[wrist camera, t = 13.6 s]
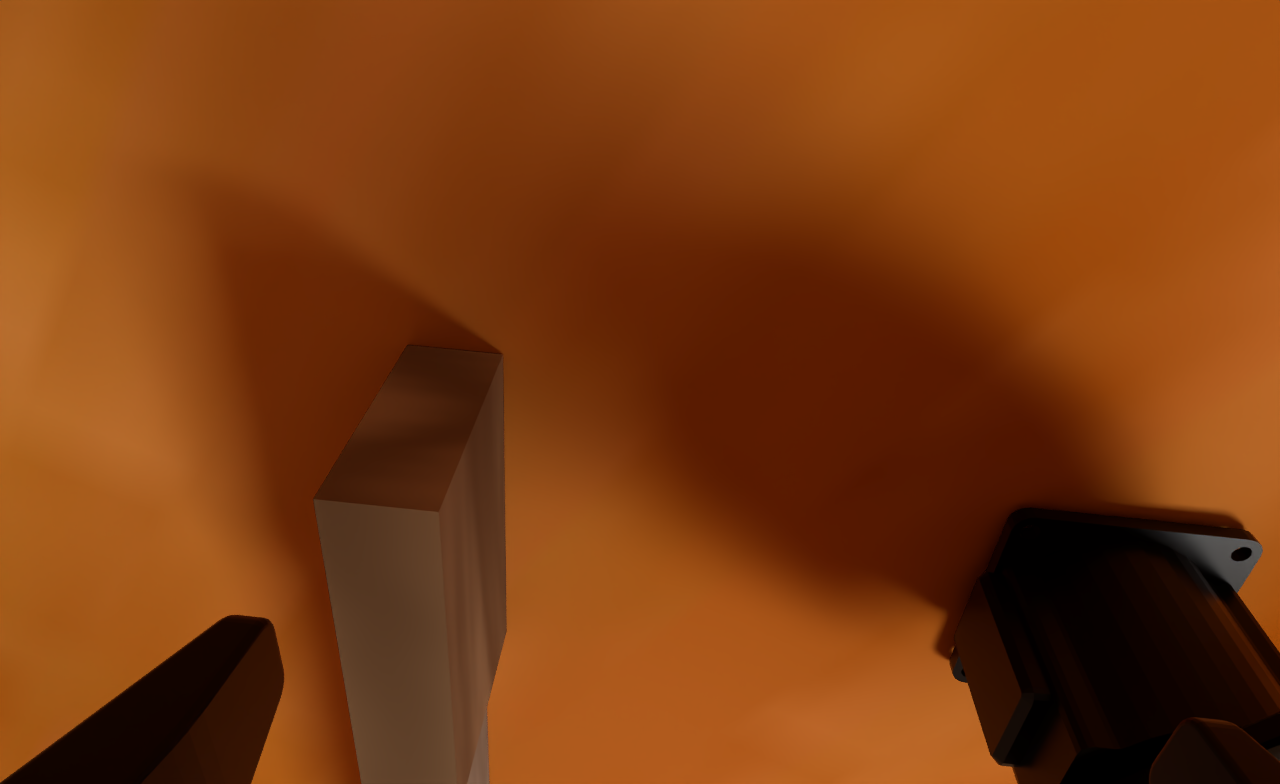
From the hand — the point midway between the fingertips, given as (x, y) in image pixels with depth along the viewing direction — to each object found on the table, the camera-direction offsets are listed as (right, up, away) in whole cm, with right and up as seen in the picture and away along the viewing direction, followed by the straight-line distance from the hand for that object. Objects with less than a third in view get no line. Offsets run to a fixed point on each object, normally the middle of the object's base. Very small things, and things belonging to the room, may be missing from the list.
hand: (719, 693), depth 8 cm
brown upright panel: (-6, -5, +19) cm, 20 cm away
